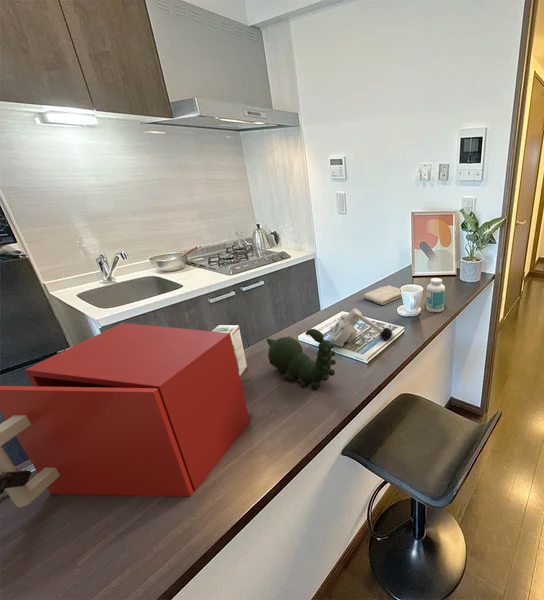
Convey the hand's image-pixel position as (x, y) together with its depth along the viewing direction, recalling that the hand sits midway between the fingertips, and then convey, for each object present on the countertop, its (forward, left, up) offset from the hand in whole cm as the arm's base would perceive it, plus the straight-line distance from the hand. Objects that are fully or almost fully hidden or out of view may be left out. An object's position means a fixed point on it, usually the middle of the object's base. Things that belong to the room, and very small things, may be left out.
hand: (19, 476), depth 53 cm
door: (+8, +6, -10) cm, 14 cm away
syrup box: (-9, +44, -10) cm, 46 cm away
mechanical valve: (+13, +78, -10) cm, 79 cm away
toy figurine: (+10, +52, -10) cm, 54 cm away
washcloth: (0, +116, -10) cm, 116 cm away
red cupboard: (+3, +20, -10) cm, 22 cm away
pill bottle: (+25, +115, -10) cm, 118 cm away
